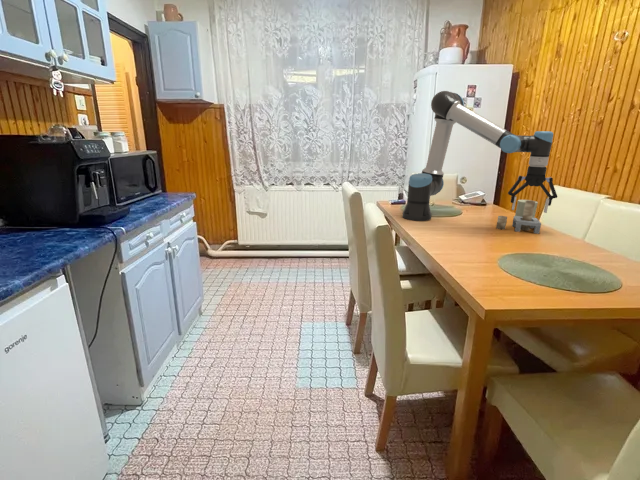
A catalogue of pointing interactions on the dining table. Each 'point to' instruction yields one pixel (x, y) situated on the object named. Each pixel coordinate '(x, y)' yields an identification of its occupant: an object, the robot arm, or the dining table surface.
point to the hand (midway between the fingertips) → (528, 211)
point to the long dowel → (527, 214)
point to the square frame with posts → (533, 224)
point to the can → (521, 208)
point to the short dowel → (501, 222)
